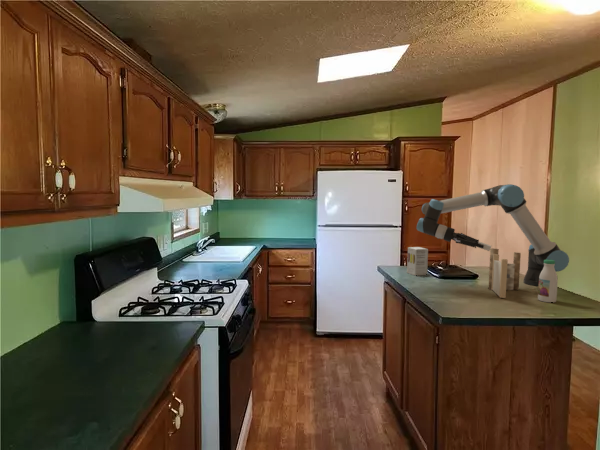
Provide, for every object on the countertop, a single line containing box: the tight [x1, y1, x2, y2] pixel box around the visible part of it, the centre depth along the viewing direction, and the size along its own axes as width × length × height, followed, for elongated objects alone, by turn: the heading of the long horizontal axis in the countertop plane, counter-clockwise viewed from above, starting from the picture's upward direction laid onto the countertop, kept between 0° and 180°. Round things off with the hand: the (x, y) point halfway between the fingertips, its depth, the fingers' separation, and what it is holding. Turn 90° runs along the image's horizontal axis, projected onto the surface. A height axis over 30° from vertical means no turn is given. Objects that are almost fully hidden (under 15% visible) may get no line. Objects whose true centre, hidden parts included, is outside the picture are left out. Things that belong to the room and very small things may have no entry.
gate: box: [491, 253, 510, 299], centre depth 204 cm, size 18×4×19 cm, turn 167°
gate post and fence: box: [488, 247, 521, 291], centre depth 216 cm, size 16×4×22 cm, turn 91°
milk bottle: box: [537, 260, 559, 303], centre depth 194 cm, size 8×8×20 cm
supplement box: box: [406, 246, 429, 277], centre depth 256 cm, size 10×9×17 cm
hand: (490, 248), depth 209 cm, fingers closed
